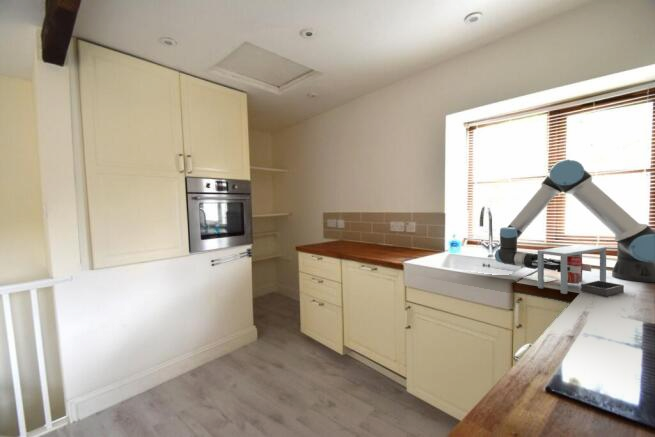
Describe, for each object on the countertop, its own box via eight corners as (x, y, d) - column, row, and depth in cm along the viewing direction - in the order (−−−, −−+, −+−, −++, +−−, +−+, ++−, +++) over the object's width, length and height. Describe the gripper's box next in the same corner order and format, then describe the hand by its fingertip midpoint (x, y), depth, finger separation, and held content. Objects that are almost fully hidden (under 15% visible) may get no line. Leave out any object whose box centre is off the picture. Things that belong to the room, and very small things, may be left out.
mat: (535, 275, 137) (535, 274, 137) (558, 280, 128) (558, 279, 128) (521, 277, 133) (521, 277, 133) (544, 282, 124) (544, 282, 124)
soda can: (561, 279, 124) (561, 252, 123) (583, 281, 119) (583, 254, 118) (559, 282, 119) (559, 255, 119) (581, 285, 114) (581, 256, 113)
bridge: (578, 278, 129) (578, 244, 128) (606, 284, 119) (606, 247, 119) (537, 287, 118) (537, 250, 117) (565, 294, 109) (564, 253, 108)
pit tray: (597, 287, 115) (597, 280, 115) (623, 292, 108) (623, 285, 108) (581, 291, 111) (581, 284, 111) (607, 297, 103) (607, 289, 103)
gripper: (540, 265, 139) (598, 275, 118) (514, 270, 132) (571, 281, 110) (540, 250, 139) (599, 258, 117) (514, 254, 131) (571, 262, 110)
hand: (585, 269), depth 114 cm, fingers closed on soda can, 7 cm apart
